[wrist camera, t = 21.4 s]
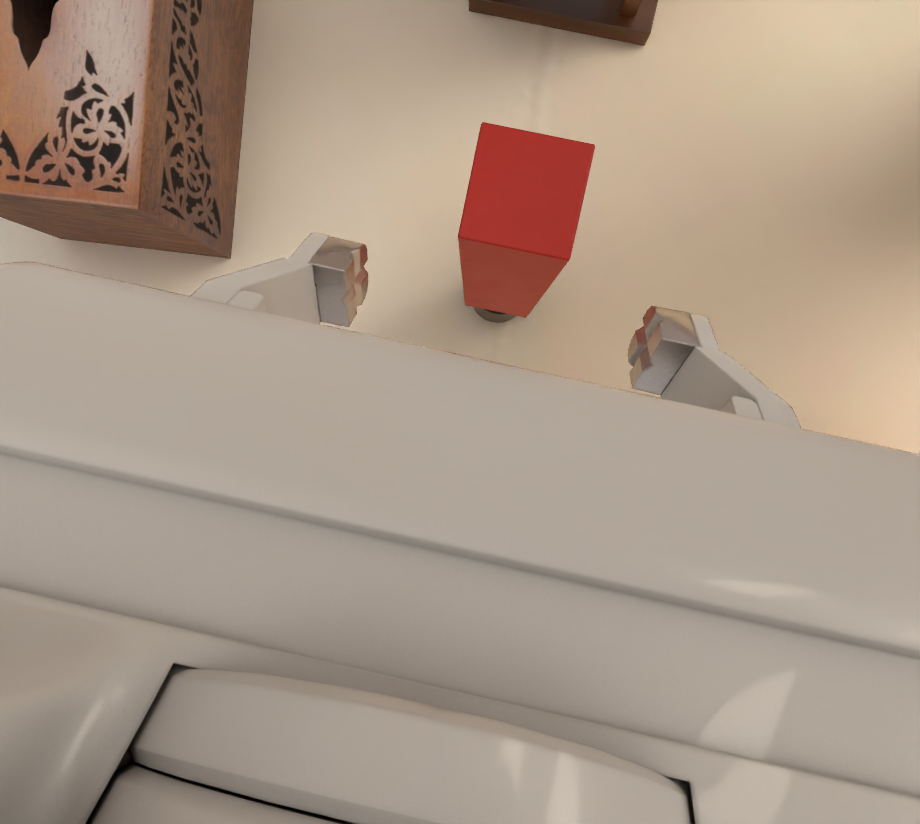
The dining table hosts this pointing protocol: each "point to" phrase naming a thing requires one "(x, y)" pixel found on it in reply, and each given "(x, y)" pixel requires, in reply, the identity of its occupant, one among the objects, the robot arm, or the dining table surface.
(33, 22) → the tissue box cover
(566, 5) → the wooden lectern stand
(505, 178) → the tall red pillar
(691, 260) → the dining table surface
